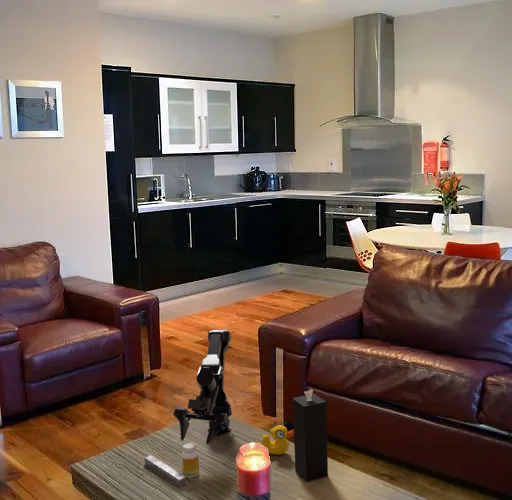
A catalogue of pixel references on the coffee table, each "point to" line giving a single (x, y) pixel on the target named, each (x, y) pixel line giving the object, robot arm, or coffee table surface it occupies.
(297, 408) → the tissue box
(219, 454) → the coffee table surface
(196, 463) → the supplement bottle
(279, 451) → the duckling
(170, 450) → the coffee table surface
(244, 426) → the coffee table surface
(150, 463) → the price rail
